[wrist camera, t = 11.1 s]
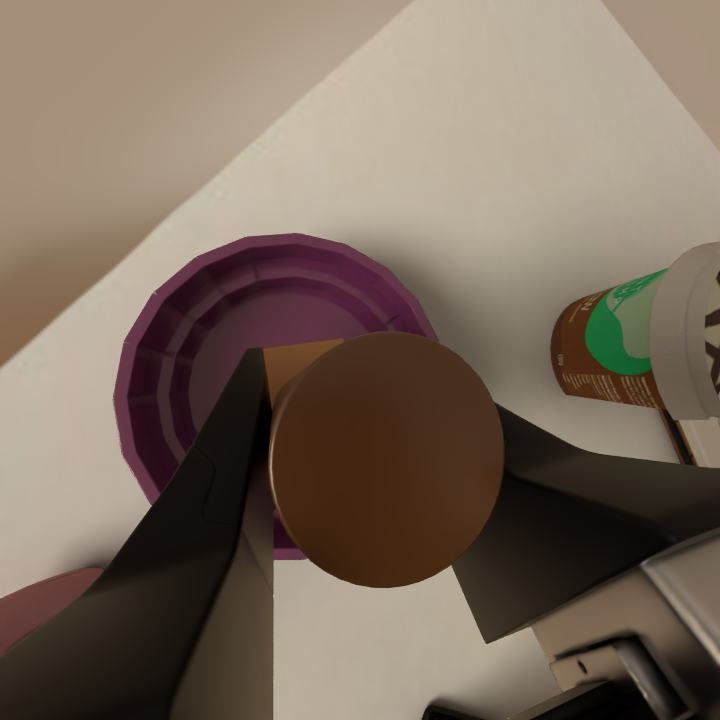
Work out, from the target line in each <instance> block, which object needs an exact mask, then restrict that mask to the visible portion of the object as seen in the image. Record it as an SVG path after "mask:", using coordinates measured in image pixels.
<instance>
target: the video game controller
mask: <svg viewBox="0 0 720 720" xmlns="http://www.w3.org/2000/svg"><path fill="white" fill-rule="evenodd" d="M103 571H104V570H103V569H102V568H97V567H93V568H84V569H78V570H74V571H70V572H67V573H64V574H60V575H57V576H54V577H51V578H48V579H45V580H43V581H40V582H38V583H35V584H32V585H30V586H27V587H25V588H23V589H21V590H18V591H16V592H14V593H12V594H10V595H7V596H5V597H3V598H1V599H0V657H1V656H3V655H4V654H5V653H6V652H8V651H9V650H10V649H12V648H13V647H14V646H16V645H17V644H18V643H19V642H21V641H22V640H23V639H25V638H26V637H27V636H28V635H30V634H31V633H32V632H34V631H35V630H36V629H38V628H39V627H40V626H41V625H42V624H43V623H45V622H47V621H48V620H49V619H51V618H52V617H53V616H54V615H56V614H57V613H58V612H60V611H61V610H62V609H64V608H65V607H66V606H67V605H69V604H70V603H71V602H73V601H74V600H75V599H76V598H78V597H79V596H80V595H81V594H82V593H83V592H84V591H85V590H86V589H87V588H88V587H89V586H90V585H91V584H92V583H93V582H94V581H95V580H96V579H97V578H98V577H99V576H100V575H101V574H102V572H103Z"/></svg>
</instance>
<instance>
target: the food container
mask: <svg viewBox="0 0 720 720" xmlns="http://www.w3.org/2000/svg"><path fill="white" fill-rule="evenodd" d="M551 360H552V365H553V370H554V373H555V376H556V378H557V380H558V383H559V385H560V387H561V388H562V390H563V391H564V393H565V394H566V395H571V396H578V397H585V398H591V399H598V400H605V401H611V402H618V403H624V404H631V405H638V406H644V407H651V408H658V409H664V410H668V412H669V413H670V415H671V417H672V418H673V420H709V419H710V417H720V399H719V397H718V394H719V392H720V242H715V243H708V244H703V245H700V246H697V247H694V248H692V249H691V250H689V251H687V252H686V253H684V254H683V255H682V256H680V257H679V258H678V259H677V260H676V261H675V262H674V263H673V264H672V266H671V267H670V268H667V269H665V270H662V271H659V272H656V273H653V274H650V275H647V276H644V277H642V278H639V279H636V280H633V281H630V282H627V283H624V284H621V285H619V286H616V287H613V288H610V289H607V290H604V291H601V292H598V293H596V294H593V295H590V296H587V297H584V298H581V299H579V300H577V301H575V302H574V303H572V304H570V305H569V306H568V307H567V308H566V309H565V310H564V311H563V312H562V314H561V315H560V317H559V318H558V320H557V322H556V324H555V327H554V330H553V334H552V339H551Z"/></svg>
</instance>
